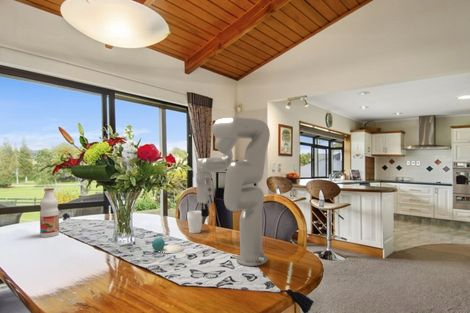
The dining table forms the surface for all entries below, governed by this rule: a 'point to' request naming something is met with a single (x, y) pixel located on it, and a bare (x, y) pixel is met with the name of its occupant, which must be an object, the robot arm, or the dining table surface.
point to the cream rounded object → (172, 249)
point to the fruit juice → (49, 214)
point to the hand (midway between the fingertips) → (204, 216)
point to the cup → (194, 221)
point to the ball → (158, 244)
